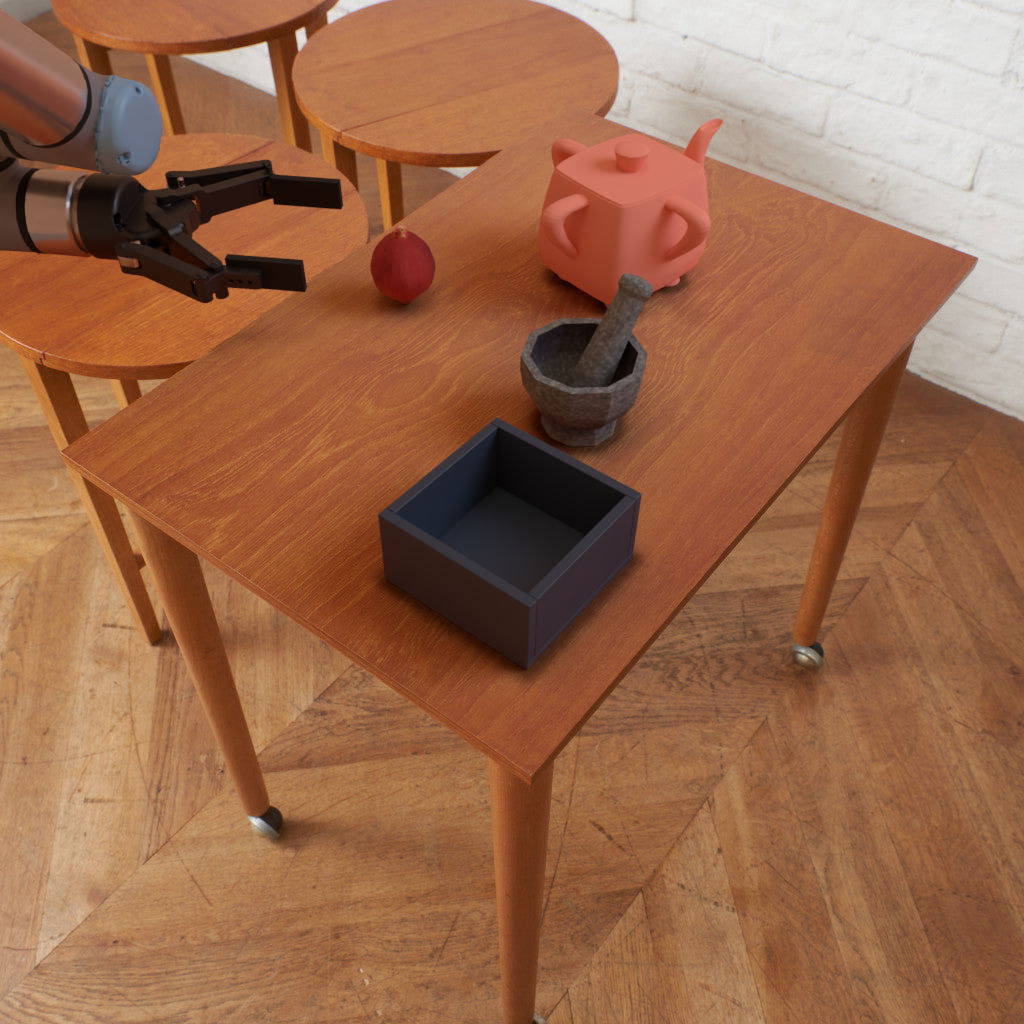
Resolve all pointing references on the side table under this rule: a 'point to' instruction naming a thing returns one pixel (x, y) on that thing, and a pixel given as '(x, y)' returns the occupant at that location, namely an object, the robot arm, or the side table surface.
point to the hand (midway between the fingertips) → (323, 233)
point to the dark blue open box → (509, 539)
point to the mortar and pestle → (587, 368)
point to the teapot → (625, 211)
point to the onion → (402, 265)
